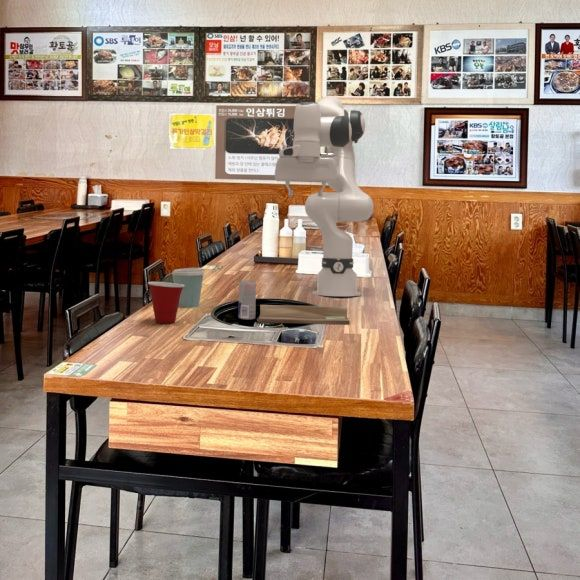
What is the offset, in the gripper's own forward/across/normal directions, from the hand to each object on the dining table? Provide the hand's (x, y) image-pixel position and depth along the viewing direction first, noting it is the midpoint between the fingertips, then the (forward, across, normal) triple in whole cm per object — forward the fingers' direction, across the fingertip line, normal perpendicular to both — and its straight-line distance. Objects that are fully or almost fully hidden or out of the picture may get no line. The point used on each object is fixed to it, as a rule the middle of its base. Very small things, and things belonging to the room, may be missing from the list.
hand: (305, 196), depth 211 cm
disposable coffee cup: (+40, +38, -7) cm, 56 cm away
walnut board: (+40, 0, +7) cm, 40 cm away
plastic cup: (+40, +41, +17) cm, 60 cm away
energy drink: (+40, +18, +6) cm, 44 cm away
